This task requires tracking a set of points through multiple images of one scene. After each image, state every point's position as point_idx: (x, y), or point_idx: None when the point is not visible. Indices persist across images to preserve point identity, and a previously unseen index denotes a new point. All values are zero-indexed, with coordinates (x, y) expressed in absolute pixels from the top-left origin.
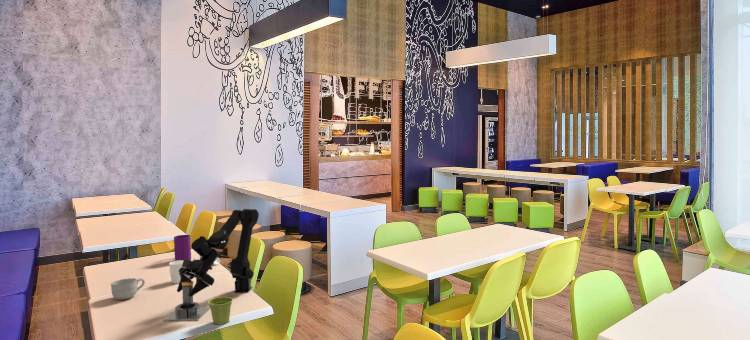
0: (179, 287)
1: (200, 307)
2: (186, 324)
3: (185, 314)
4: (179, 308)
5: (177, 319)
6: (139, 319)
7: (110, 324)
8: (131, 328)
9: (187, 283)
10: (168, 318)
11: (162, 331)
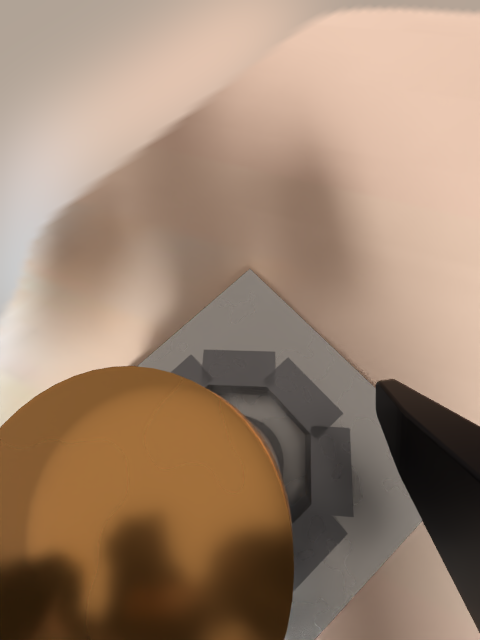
0: (408, 424)
1: (291, 631)
2: (60, 357)
3: None
4: (225, 372)
5: (170, 338)
6: (396, 176)
7: (426, 55)
8: (273, 116)
9: (3, 479)
10: (241, 300)
11: (88, 216)
